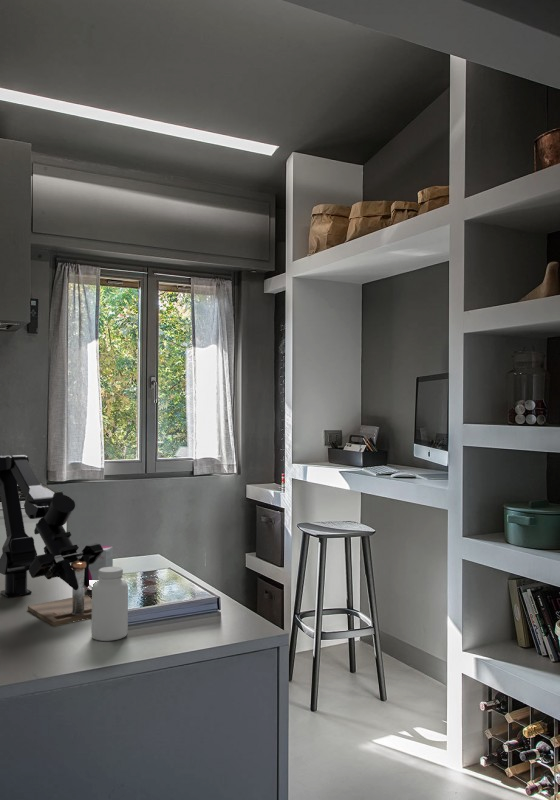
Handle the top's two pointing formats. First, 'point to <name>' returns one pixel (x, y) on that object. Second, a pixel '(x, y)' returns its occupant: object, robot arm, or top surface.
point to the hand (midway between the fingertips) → (82, 587)
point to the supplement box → (101, 563)
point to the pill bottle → (109, 605)
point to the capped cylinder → (79, 593)
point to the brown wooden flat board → (61, 611)
